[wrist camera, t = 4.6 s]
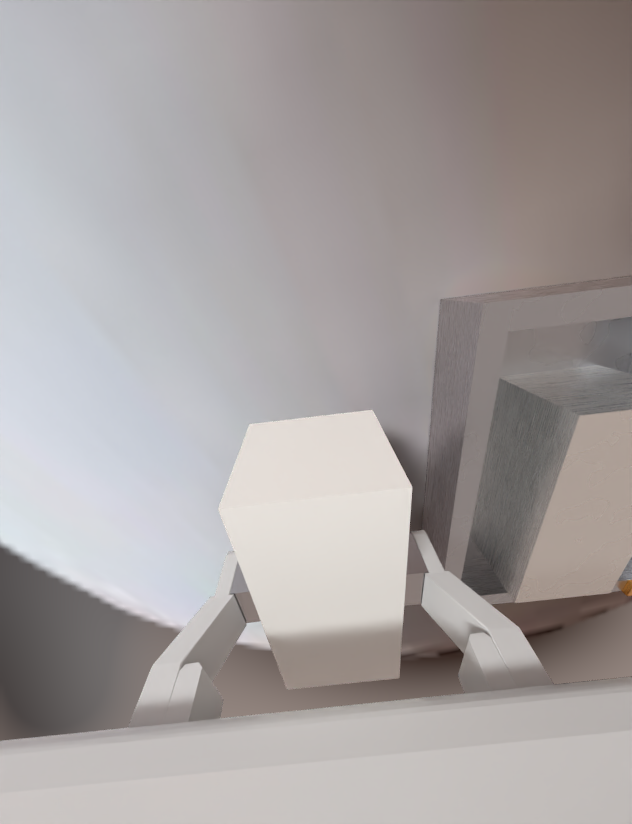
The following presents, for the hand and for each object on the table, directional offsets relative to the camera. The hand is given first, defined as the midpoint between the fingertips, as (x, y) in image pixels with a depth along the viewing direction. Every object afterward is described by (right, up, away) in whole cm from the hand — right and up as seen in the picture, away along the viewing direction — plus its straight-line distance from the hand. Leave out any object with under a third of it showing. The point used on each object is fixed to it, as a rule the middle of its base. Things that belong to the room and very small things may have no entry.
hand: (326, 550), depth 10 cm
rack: (+15, +4, +4) cm, 16 cm away
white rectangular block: (0, +1, +1) cm, 2 cm away
